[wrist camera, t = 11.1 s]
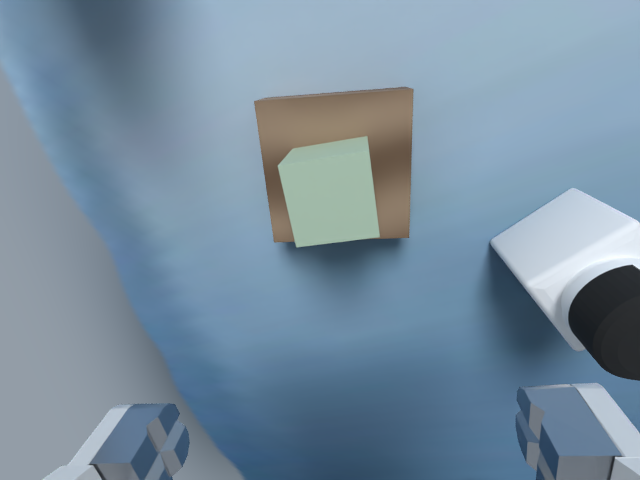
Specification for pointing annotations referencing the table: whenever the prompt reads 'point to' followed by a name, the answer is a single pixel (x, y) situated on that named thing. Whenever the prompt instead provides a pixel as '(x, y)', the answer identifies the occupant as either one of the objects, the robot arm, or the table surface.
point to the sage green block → (330, 192)
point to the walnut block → (335, 125)
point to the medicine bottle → (582, 275)
